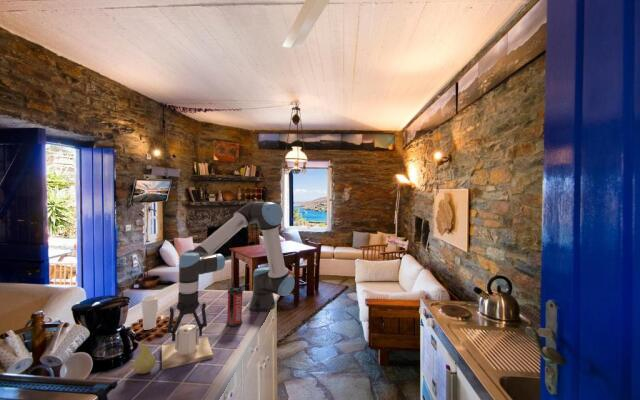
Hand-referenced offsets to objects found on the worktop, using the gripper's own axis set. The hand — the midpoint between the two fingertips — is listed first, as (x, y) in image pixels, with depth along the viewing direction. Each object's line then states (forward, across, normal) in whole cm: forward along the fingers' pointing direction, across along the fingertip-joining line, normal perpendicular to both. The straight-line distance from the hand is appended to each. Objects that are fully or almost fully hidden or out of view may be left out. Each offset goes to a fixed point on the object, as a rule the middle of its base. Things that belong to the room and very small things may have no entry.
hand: (186, 346), depth 120 cm
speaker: (+3, -24, -20) cm, 31 cm away
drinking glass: (+3, +14, -31) cm, 34 cm away
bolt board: (+3, 0, 0) cm, 3 cm away
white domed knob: (+2, 0, 0) cm, 2 cm away
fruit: (+3, +15, +7) cm, 17 cm away
